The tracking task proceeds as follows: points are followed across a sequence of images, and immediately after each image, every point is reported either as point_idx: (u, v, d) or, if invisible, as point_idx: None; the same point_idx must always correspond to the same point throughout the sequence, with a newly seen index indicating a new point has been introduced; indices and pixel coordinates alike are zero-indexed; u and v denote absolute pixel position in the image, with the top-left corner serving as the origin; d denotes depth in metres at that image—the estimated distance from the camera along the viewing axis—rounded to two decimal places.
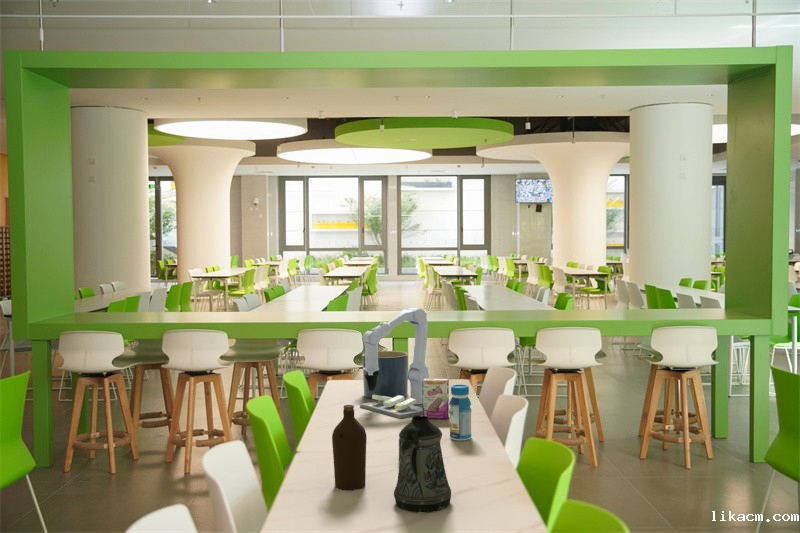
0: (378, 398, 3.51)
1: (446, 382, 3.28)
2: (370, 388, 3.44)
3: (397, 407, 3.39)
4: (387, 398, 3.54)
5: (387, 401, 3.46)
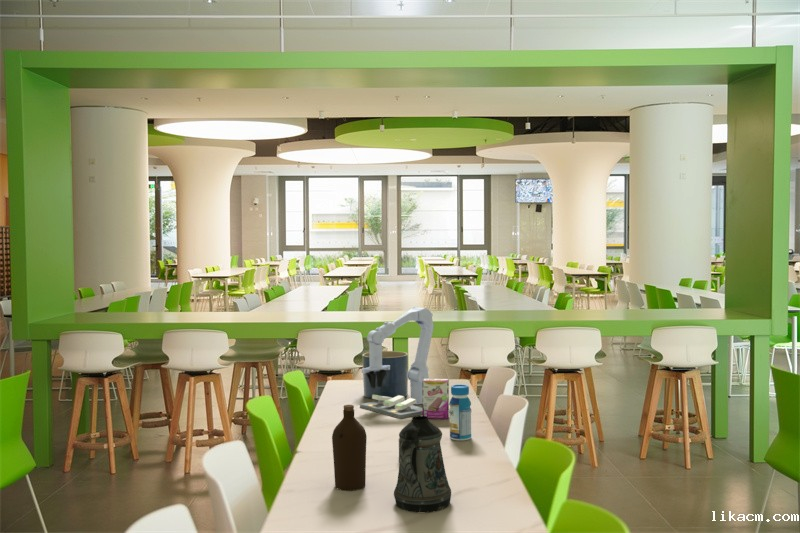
0: (378, 398, 3.51)
1: (446, 382, 3.28)
2: (371, 385, 3.51)
3: (397, 407, 3.39)
4: (387, 398, 3.54)
5: (387, 401, 3.46)
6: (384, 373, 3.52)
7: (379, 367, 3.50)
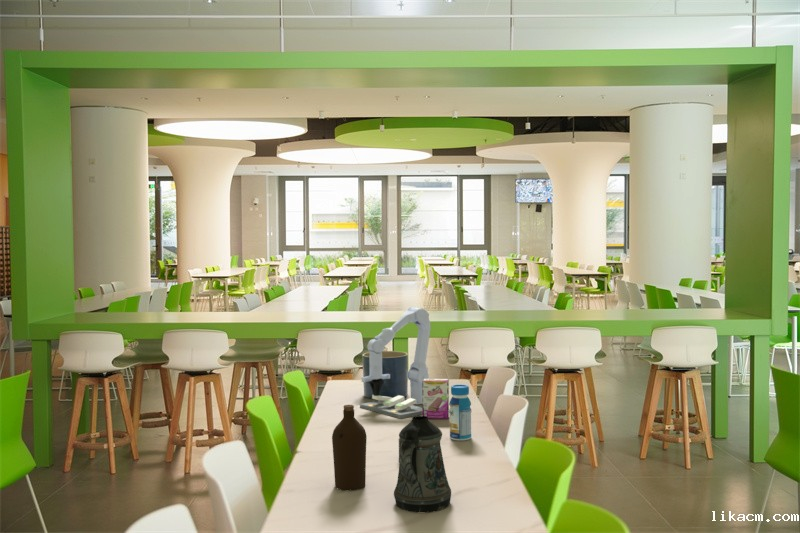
0: (378, 398, 3.51)
1: (446, 382, 3.28)
2: (374, 394, 3.52)
3: (397, 407, 3.39)
4: (387, 398, 3.54)
5: (387, 401, 3.46)
6: (381, 382, 3.51)
7: (379, 376, 3.50)
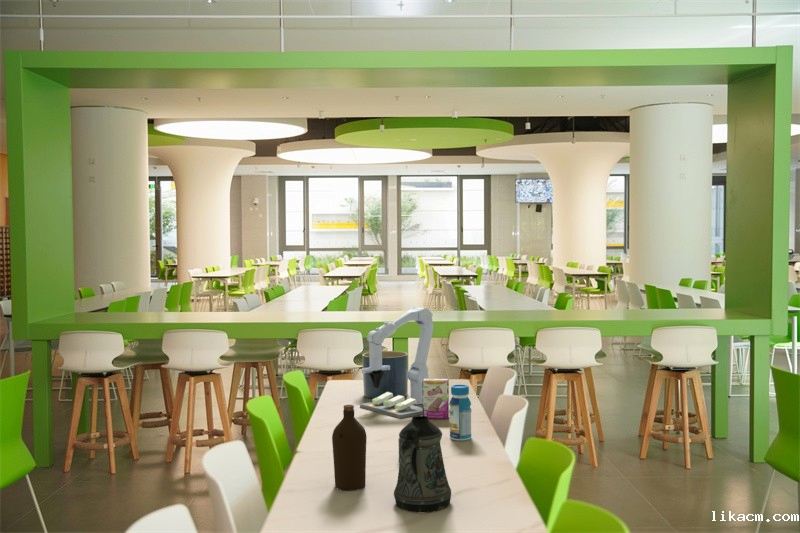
0: (378, 402, 3.51)
1: (446, 382, 3.28)
2: (374, 385, 3.52)
3: (397, 407, 3.39)
4: (387, 397, 3.54)
5: (387, 401, 3.46)
6: (381, 374, 3.51)
7: (379, 367, 3.50)
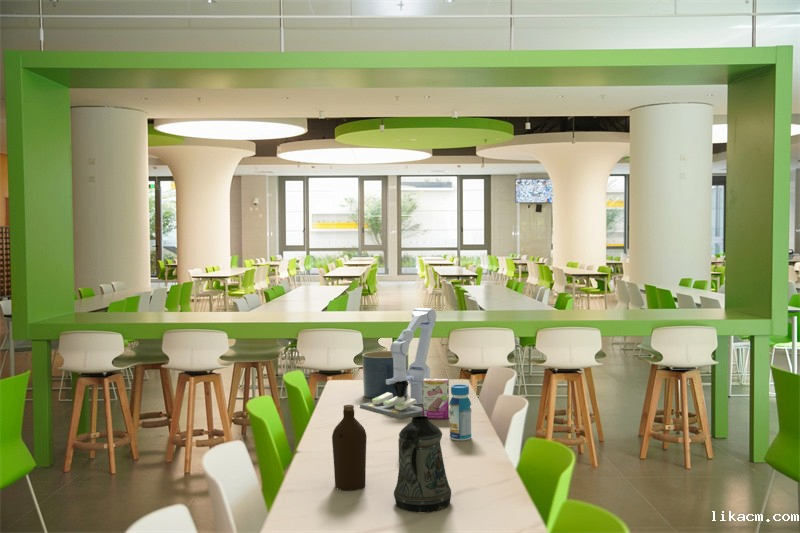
0: (378, 402, 3.51)
1: (446, 382, 3.28)
2: (398, 396, 3.50)
3: (397, 407, 3.39)
4: (387, 397, 3.54)
5: (387, 401, 3.46)
6: (406, 384, 3.49)
7: (403, 378, 3.47)
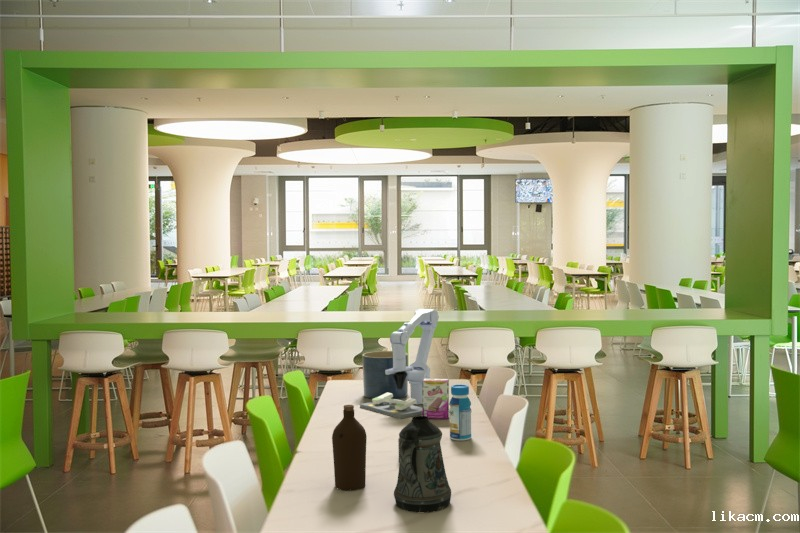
0: (378, 402, 3.51)
1: (446, 382, 3.28)
2: (397, 386, 3.50)
3: (397, 407, 3.39)
4: (387, 397, 3.54)
5: None
6: (405, 375, 3.48)
7: (403, 368, 3.47)
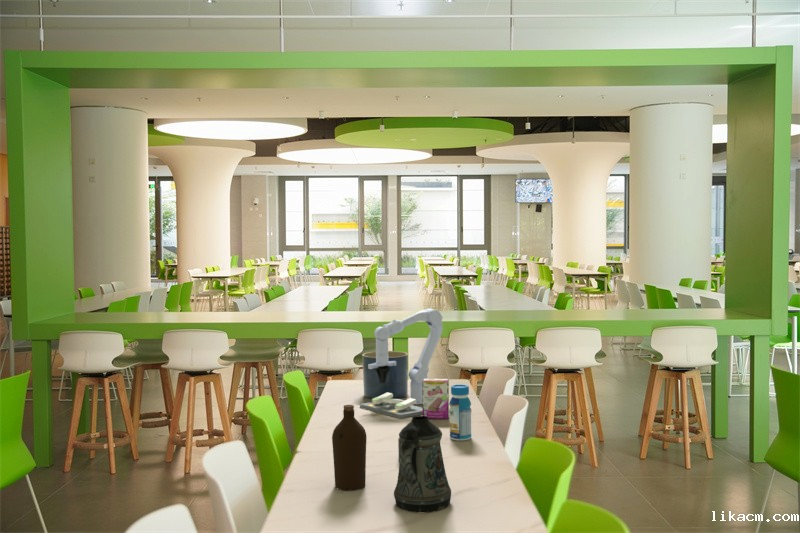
0: (378, 402, 3.51)
1: (446, 382, 3.28)
2: (380, 381, 3.57)
3: (397, 407, 3.39)
4: (387, 397, 3.54)
5: (388, 398, 3.46)
6: (388, 369, 3.56)
7: (385, 363, 3.55)
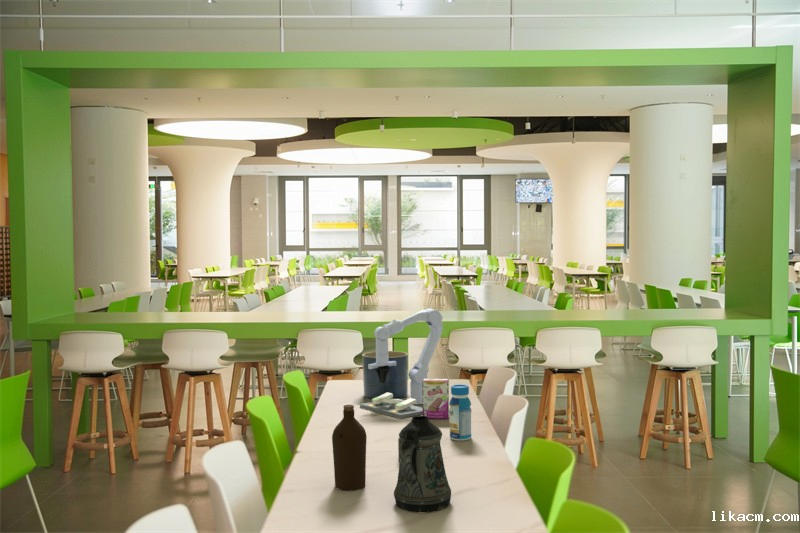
0: (378, 402, 3.51)
1: (446, 382, 3.28)
2: (380, 381, 3.57)
3: (397, 407, 3.39)
4: (387, 397, 3.54)
5: (388, 398, 3.46)
6: (388, 369, 3.56)
7: (385, 363, 3.55)
